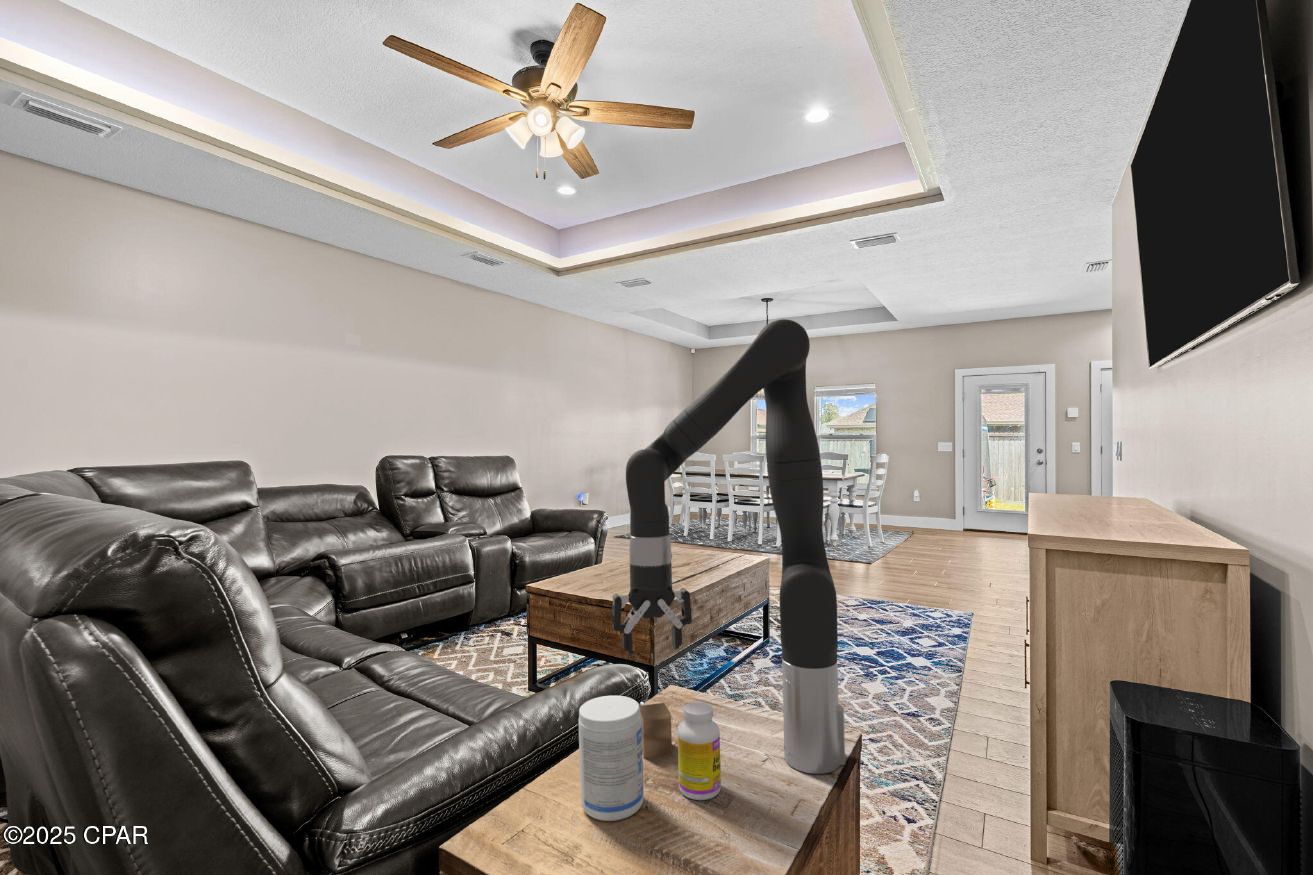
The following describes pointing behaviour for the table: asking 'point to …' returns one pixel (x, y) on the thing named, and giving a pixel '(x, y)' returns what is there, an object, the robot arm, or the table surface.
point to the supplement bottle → (699, 752)
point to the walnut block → (656, 730)
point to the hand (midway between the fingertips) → (652, 650)
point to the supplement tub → (610, 757)
